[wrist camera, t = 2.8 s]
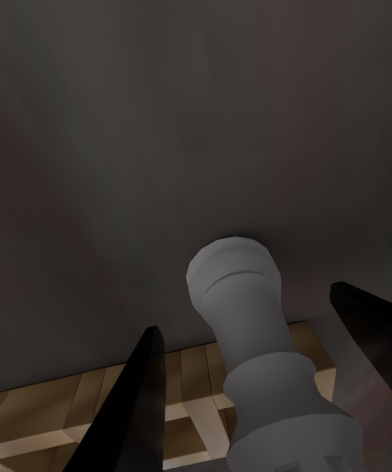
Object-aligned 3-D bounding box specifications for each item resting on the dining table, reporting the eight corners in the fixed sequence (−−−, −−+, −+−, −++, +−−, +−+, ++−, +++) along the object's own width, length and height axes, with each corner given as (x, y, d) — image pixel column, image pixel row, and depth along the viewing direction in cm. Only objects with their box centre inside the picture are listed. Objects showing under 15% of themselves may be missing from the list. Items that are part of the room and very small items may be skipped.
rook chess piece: (262, 300, 13) (373, 527, 6) (184, 303, 12) (200, 553, 5) (278, 231, 11) (489, 454, 4) (186, 231, 10) (215, 488, 3)
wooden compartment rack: (306, 320, 14) (337, 367, 11) (304, 387, 18) (327, 434, 15) (-13, 394, 14) (-55, 456, 12) (53, 444, 18) (33, 498, 16)
